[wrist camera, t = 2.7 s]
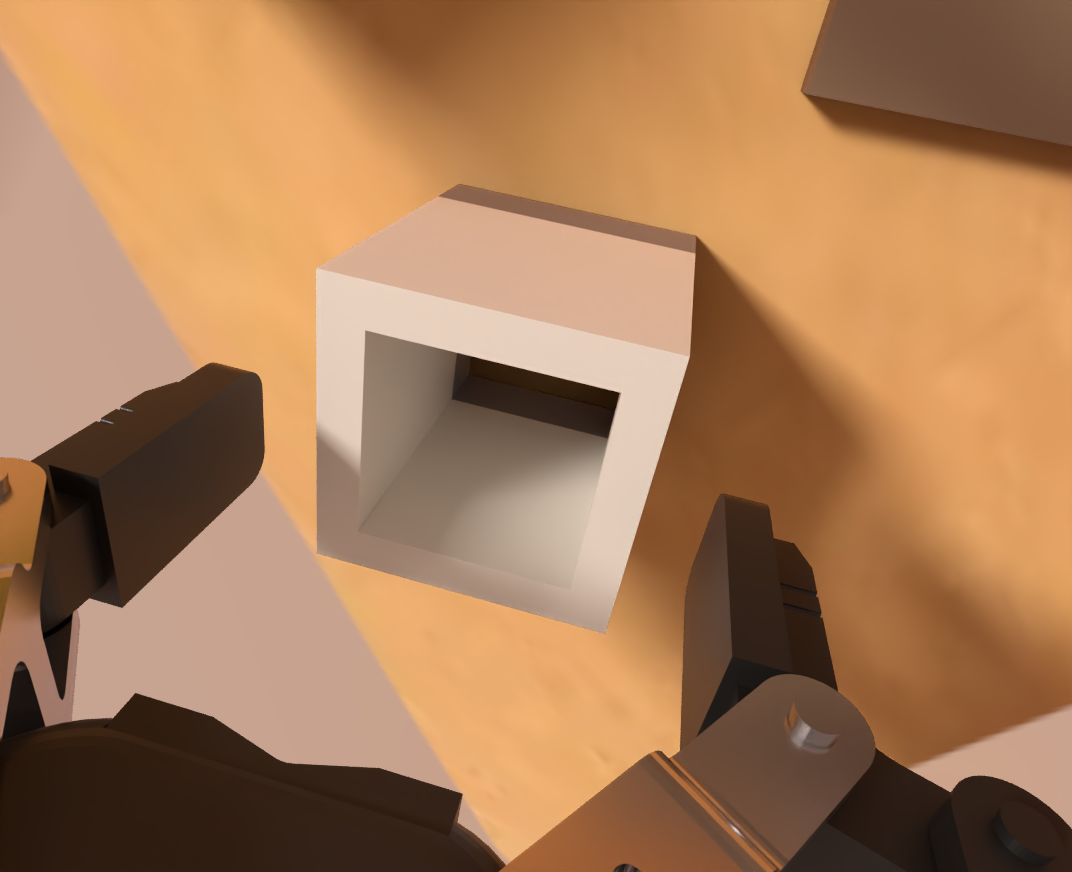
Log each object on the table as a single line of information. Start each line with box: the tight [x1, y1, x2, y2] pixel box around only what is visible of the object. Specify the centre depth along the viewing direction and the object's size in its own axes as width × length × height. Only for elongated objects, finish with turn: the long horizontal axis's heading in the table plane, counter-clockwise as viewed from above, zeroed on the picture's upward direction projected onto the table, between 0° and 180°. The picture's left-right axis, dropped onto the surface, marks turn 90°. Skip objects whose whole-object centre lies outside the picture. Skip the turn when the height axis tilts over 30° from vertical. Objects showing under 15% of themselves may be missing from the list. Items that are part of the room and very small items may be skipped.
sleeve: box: [316, 184, 696, 634], centre depth 14 cm, size 6×6×7 cm
